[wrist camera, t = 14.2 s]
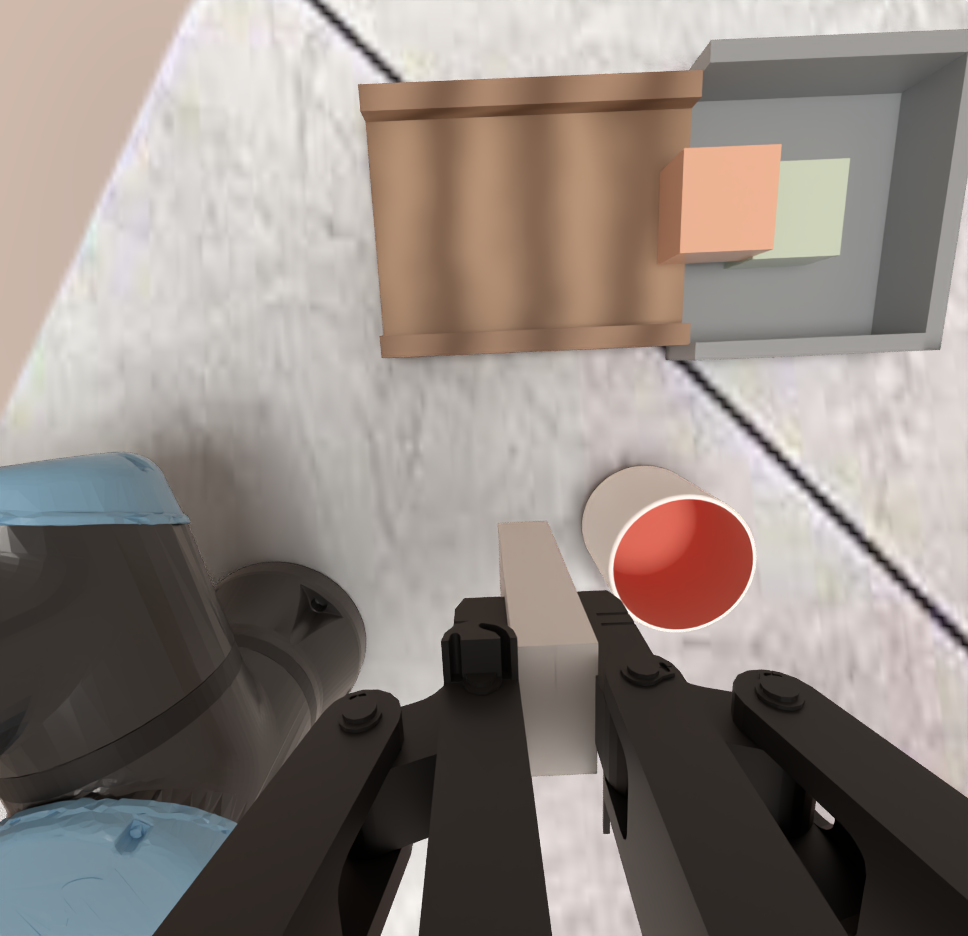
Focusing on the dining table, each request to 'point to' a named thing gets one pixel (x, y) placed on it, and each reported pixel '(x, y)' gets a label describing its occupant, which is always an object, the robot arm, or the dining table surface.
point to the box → (869, 199)
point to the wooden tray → (525, 211)
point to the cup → (668, 548)
